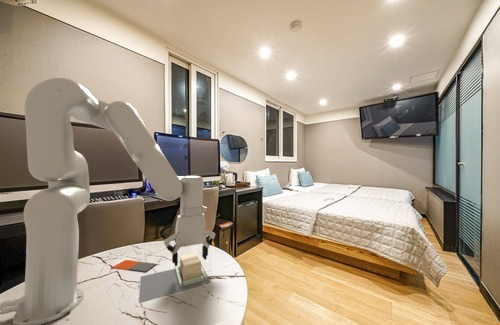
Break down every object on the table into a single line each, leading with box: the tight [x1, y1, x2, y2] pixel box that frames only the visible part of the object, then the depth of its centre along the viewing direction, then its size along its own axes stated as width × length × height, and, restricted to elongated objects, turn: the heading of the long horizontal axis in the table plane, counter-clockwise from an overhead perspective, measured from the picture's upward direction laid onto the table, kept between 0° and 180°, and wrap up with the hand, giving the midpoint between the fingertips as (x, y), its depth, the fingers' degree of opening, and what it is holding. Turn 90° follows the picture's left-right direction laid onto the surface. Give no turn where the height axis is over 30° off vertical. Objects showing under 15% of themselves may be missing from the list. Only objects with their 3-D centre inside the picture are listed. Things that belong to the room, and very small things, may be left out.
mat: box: [138, 264, 212, 304], centre depth 62 cm, size 20×14×2 cm
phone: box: [110, 259, 158, 274], centre depth 70 cm, size 6×1×15 cm
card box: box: [179, 252, 202, 281], centre depth 65 cm, size 8×6×5 cm
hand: (190, 261), depth 65 cm, fingers open, 9 cm apart
